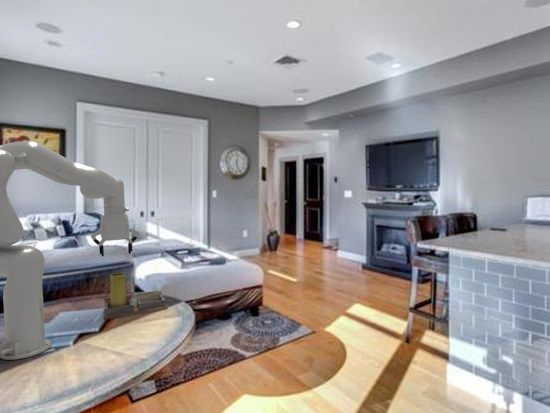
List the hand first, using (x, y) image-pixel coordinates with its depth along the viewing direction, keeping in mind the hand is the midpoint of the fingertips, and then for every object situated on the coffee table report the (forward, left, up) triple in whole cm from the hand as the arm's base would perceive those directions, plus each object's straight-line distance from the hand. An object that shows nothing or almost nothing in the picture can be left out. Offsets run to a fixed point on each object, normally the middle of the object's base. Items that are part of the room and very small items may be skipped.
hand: (116, 254), depth 138 cm
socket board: (+4, -4, -23) cm, 24 cm away
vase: (0, 0, -22) cm, 22 cm away
